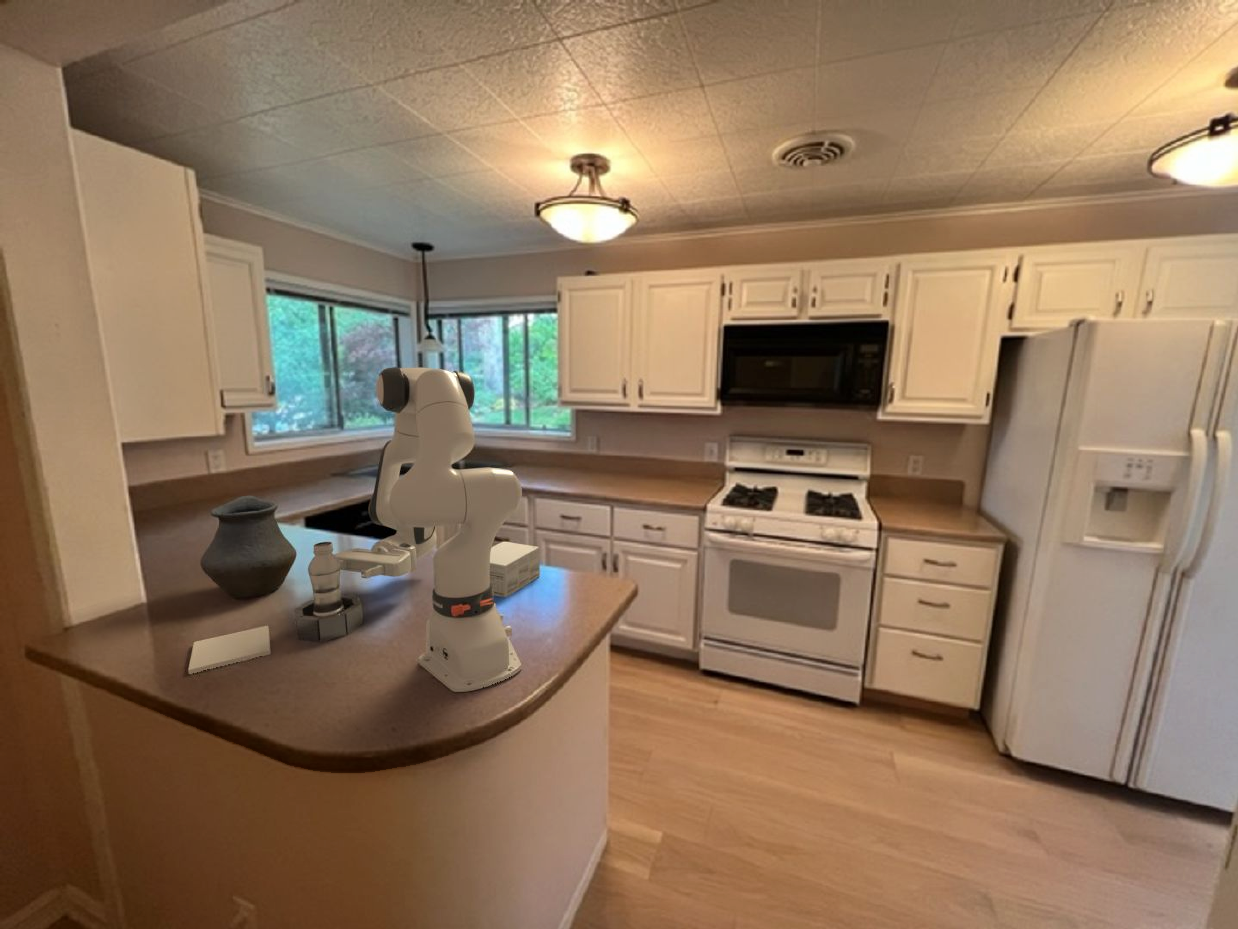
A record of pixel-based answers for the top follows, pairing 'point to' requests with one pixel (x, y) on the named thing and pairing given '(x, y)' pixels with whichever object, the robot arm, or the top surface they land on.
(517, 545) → the supplement box
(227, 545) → the dark grey clay pot
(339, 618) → the metal ring
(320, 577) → the plastic bottle
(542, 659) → the top surface
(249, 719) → the top surface
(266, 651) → the ceramic tile
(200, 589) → the top surface
